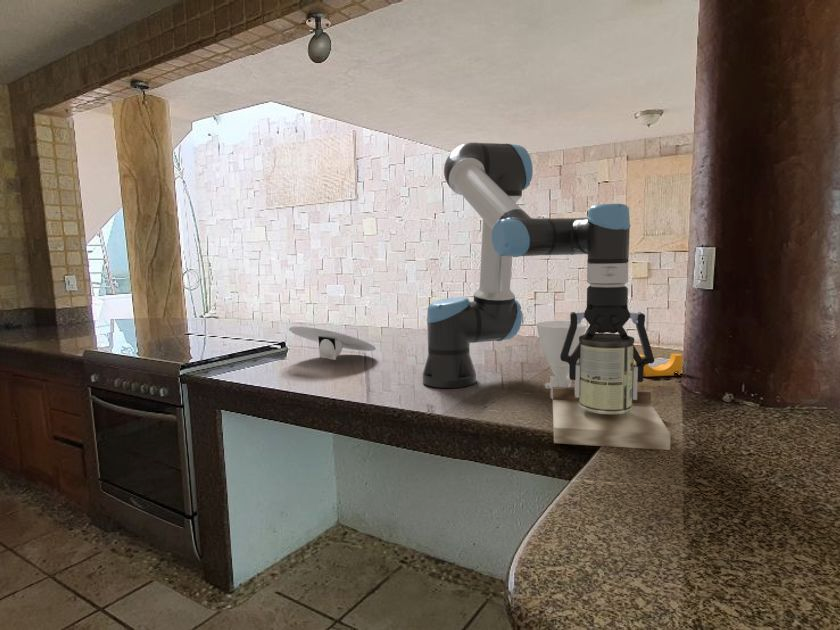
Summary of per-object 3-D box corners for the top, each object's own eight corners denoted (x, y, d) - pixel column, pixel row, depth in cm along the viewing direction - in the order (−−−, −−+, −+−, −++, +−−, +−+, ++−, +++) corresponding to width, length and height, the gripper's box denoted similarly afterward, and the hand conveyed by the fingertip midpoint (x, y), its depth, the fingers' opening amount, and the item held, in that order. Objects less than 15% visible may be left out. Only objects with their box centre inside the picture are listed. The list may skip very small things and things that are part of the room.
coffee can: (573, 399, 110) (574, 333, 108) (624, 399, 109) (625, 332, 107) (583, 414, 100) (584, 342, 98) (639, 415, 99) (641, 341, 97)
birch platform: (553, 443, 98) (554, 414, 97) (552, 410, 117) (552, 386, 116) (670, 449, 93) (671, 420, 92) (648, 415, 112) (649, 390, 112)
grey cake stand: (268, 339, 179) (322, 323, 201) (292, 389, 177) (344, 368, 200) (319, 304, 164) (371, 291, 186) (345, 359, 162) (395, 339, 184)
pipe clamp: (674, 374, 147) (674, 352, 146) (681, 378, 143) (682, 355, 142) (631, 375, 147) (631, 353, 146) (637, 379, 143) (638, 356, 142)
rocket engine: (527, 394, 131) (527, 322, 128) (566, 389, 134) (567, 319, 132) (554, 406, 120) (554, 329, 118) (595, 400, 124) (597, 325, 121)
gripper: (547, 287, 101) (546, 399, 103) (675, 286, 95) (670, 404, 98) (547, 284, 108) (546, 389, 111) (666, 283, 102) (662, 393, 105)
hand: (605, 396), depth 104 cm, fingers closed on coffee can, 10 cm apart
